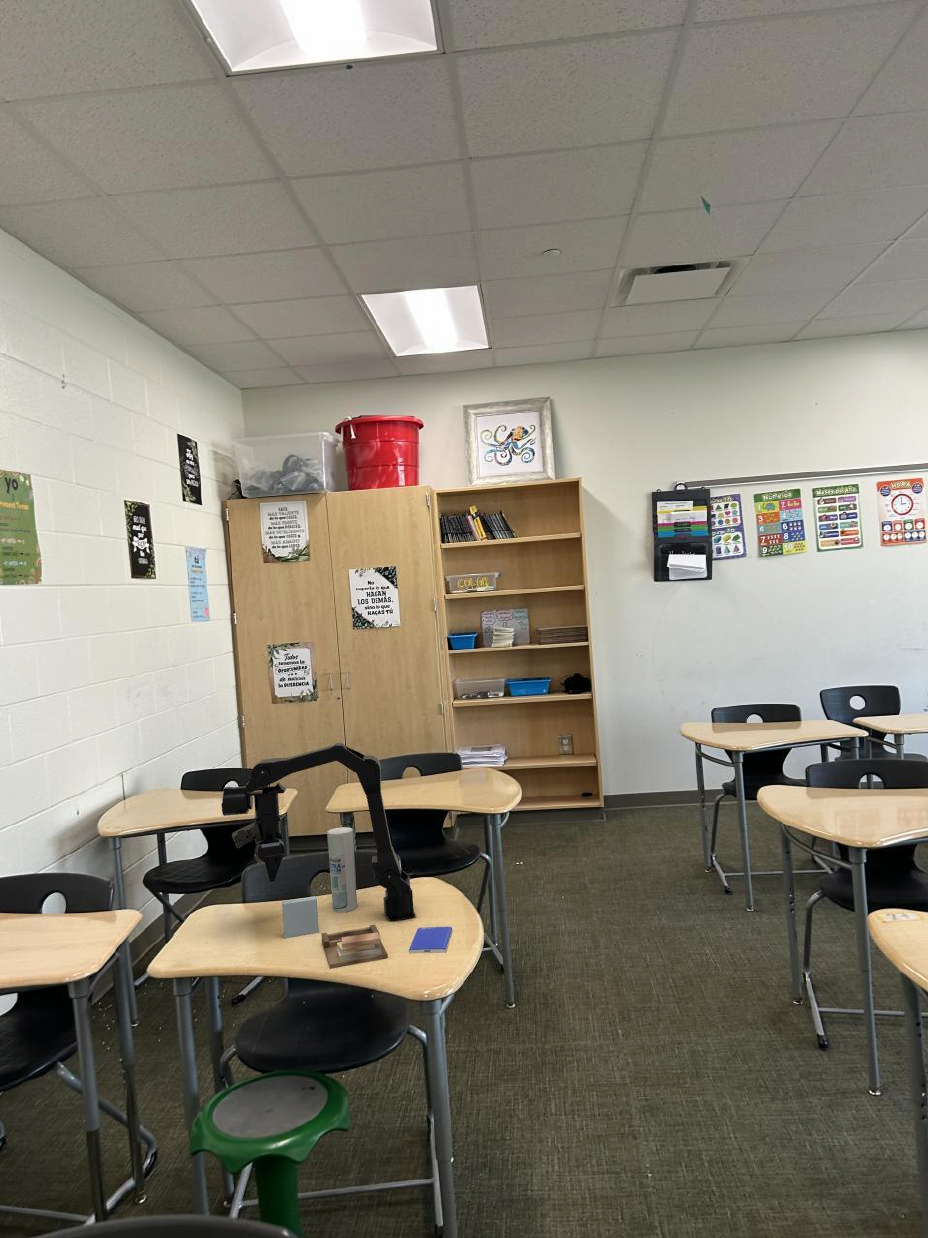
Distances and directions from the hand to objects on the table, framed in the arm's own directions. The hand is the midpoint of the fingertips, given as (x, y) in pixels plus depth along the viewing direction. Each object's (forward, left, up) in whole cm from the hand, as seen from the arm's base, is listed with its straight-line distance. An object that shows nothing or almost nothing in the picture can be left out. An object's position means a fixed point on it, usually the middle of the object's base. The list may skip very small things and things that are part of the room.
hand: (271, 876), depth 197 cm
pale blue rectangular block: (-6, +7, -13) cm, 16 cm away
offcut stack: (-17, +27, -12) cm, 34 cm away
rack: (-16, +23, -13) cm, 31 cm away
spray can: (-18, -6, -13) cm, 23 cm away
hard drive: (-33, +26, -13) cm, 44 cm away
